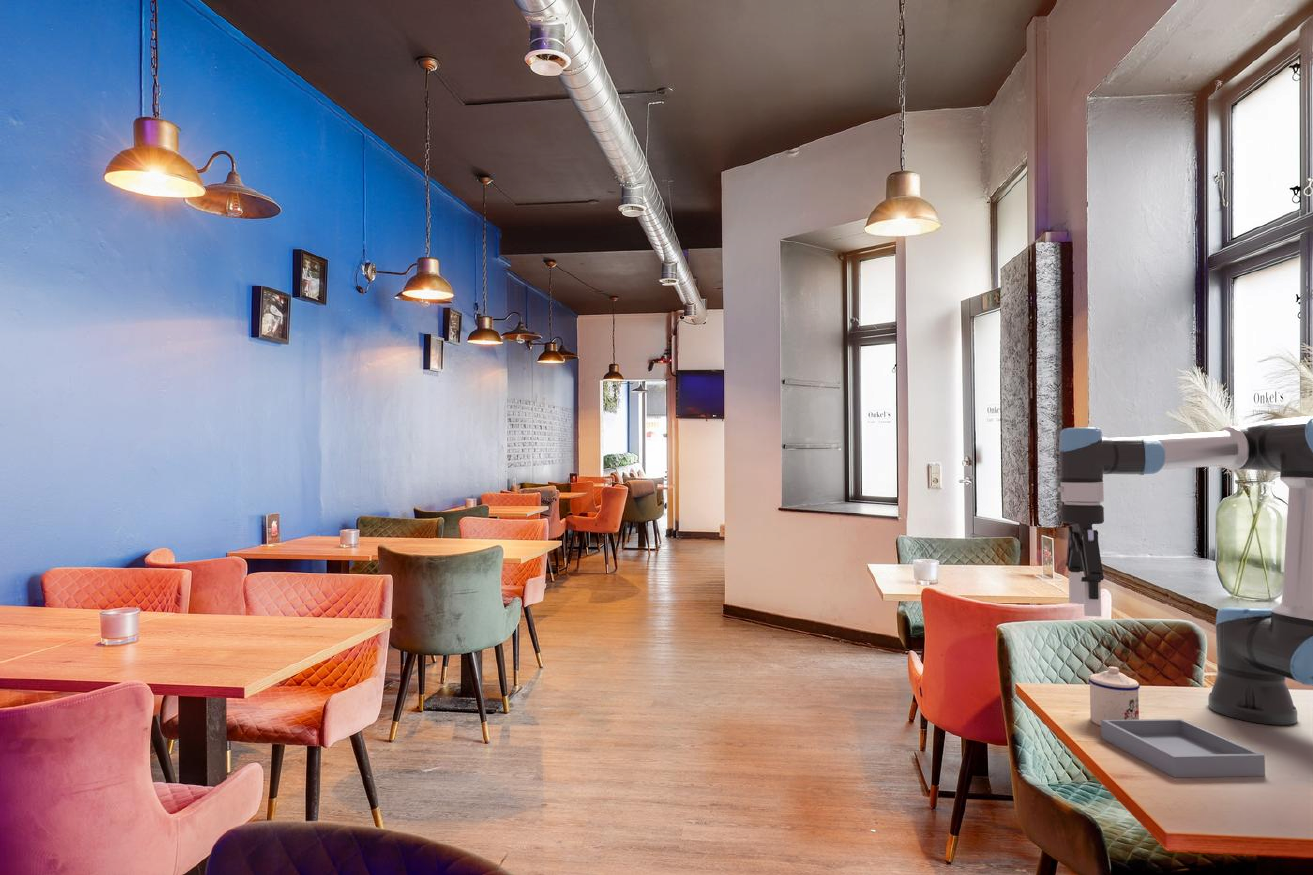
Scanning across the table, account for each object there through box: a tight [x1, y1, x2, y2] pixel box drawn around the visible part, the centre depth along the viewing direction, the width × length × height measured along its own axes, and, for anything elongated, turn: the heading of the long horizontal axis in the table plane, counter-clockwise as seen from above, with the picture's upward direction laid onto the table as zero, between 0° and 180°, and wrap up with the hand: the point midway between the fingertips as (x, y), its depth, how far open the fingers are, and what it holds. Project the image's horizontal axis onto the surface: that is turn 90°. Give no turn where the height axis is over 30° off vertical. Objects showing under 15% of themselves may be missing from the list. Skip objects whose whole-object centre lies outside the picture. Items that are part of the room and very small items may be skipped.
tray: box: [1100, 718, 1266, 778], centre depth 136 cm, size 17×19×4 cm
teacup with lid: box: [1088, 666, 1141, 727], centre depth 154 cm, size 12×9×12 cm
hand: (1084, 609), depth 147 cm, fingers open, 13 cm apart
